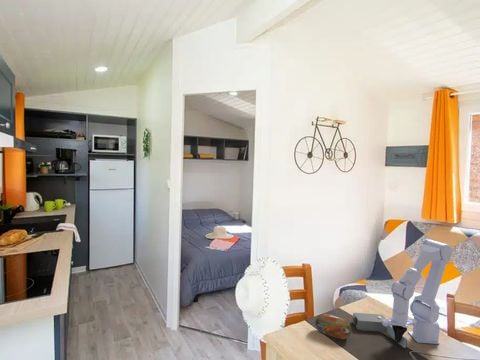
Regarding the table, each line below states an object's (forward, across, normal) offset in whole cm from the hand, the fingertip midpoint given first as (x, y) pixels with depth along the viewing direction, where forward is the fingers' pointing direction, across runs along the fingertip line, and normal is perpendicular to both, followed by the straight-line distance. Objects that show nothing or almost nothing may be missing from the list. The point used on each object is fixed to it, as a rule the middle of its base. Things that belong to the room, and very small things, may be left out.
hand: (397, 341), depth 124 cm
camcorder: (+2, -4, +14) cm, 14 cm away
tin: (+2, -25, +9) cm, 27 cm away
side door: (+1, +2, +3) cm, 4 cm away
